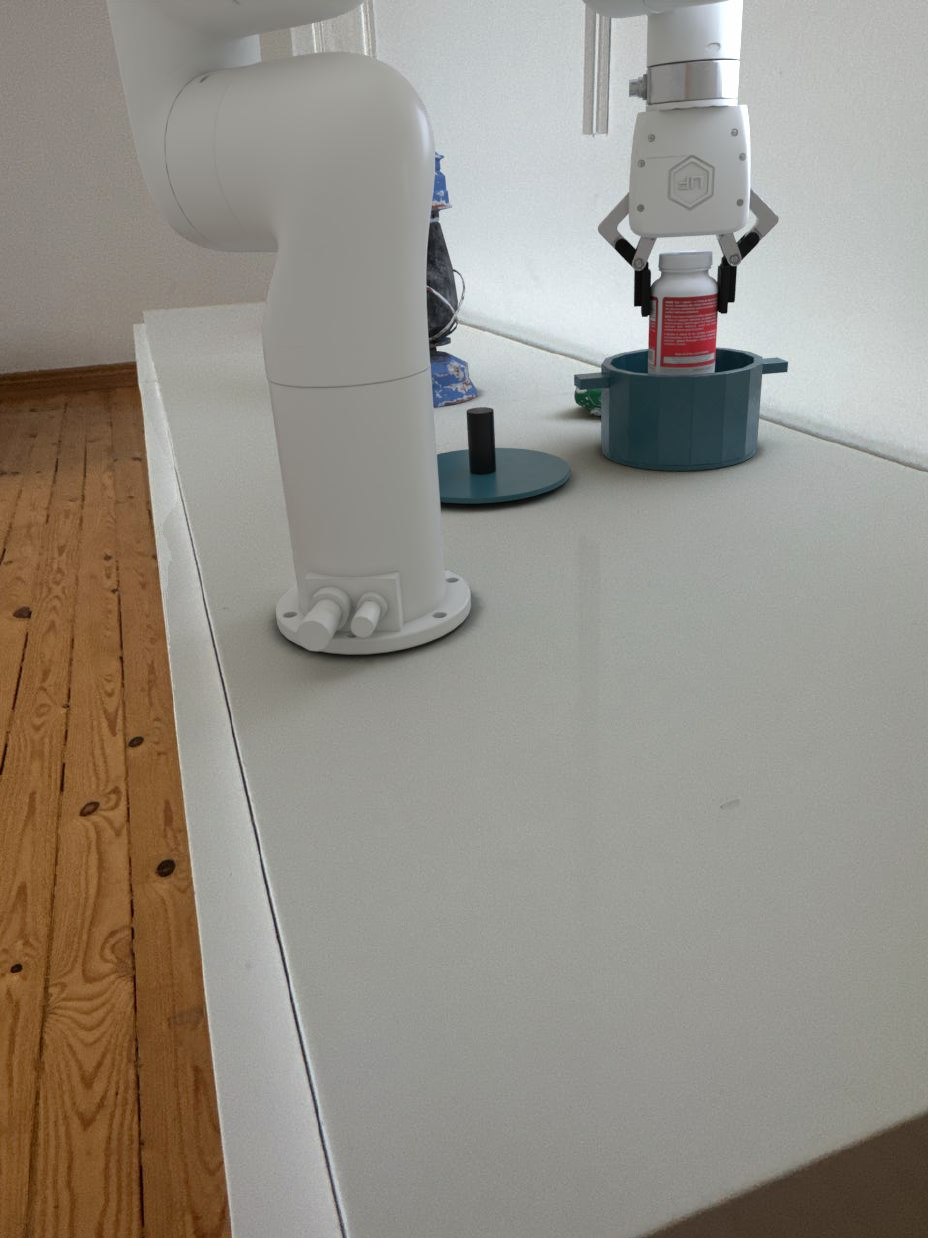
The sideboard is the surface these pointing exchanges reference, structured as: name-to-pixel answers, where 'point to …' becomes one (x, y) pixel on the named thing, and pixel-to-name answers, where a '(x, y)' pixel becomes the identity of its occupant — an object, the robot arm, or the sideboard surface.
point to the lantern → (443, 307)
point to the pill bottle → (683, 315)
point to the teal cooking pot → (680, 411)
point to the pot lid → (495, 467)
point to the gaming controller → (589, 399)
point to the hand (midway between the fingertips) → (683, 311)
